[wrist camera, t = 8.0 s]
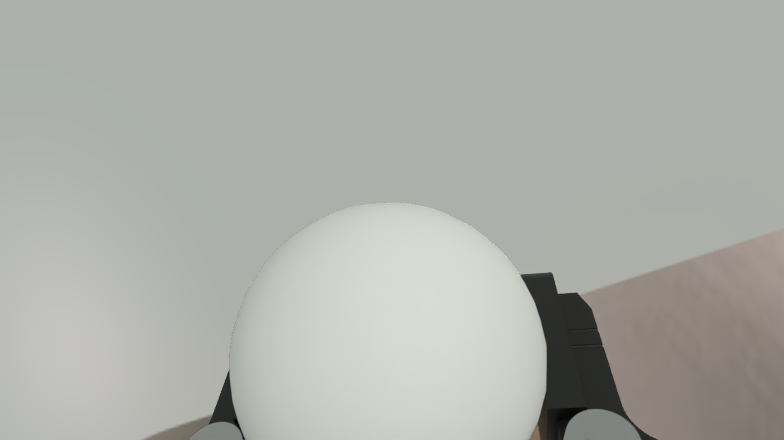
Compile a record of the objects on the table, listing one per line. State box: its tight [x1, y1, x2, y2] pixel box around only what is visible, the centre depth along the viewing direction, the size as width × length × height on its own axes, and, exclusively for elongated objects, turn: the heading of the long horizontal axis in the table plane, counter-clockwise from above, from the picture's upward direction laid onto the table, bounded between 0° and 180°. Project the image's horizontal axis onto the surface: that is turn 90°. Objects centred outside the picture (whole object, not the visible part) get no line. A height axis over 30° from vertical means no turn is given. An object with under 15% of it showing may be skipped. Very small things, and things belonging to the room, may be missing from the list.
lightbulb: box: [229, 203, 547, 440], centre depth 12 cm, size 6×6×11 cm
